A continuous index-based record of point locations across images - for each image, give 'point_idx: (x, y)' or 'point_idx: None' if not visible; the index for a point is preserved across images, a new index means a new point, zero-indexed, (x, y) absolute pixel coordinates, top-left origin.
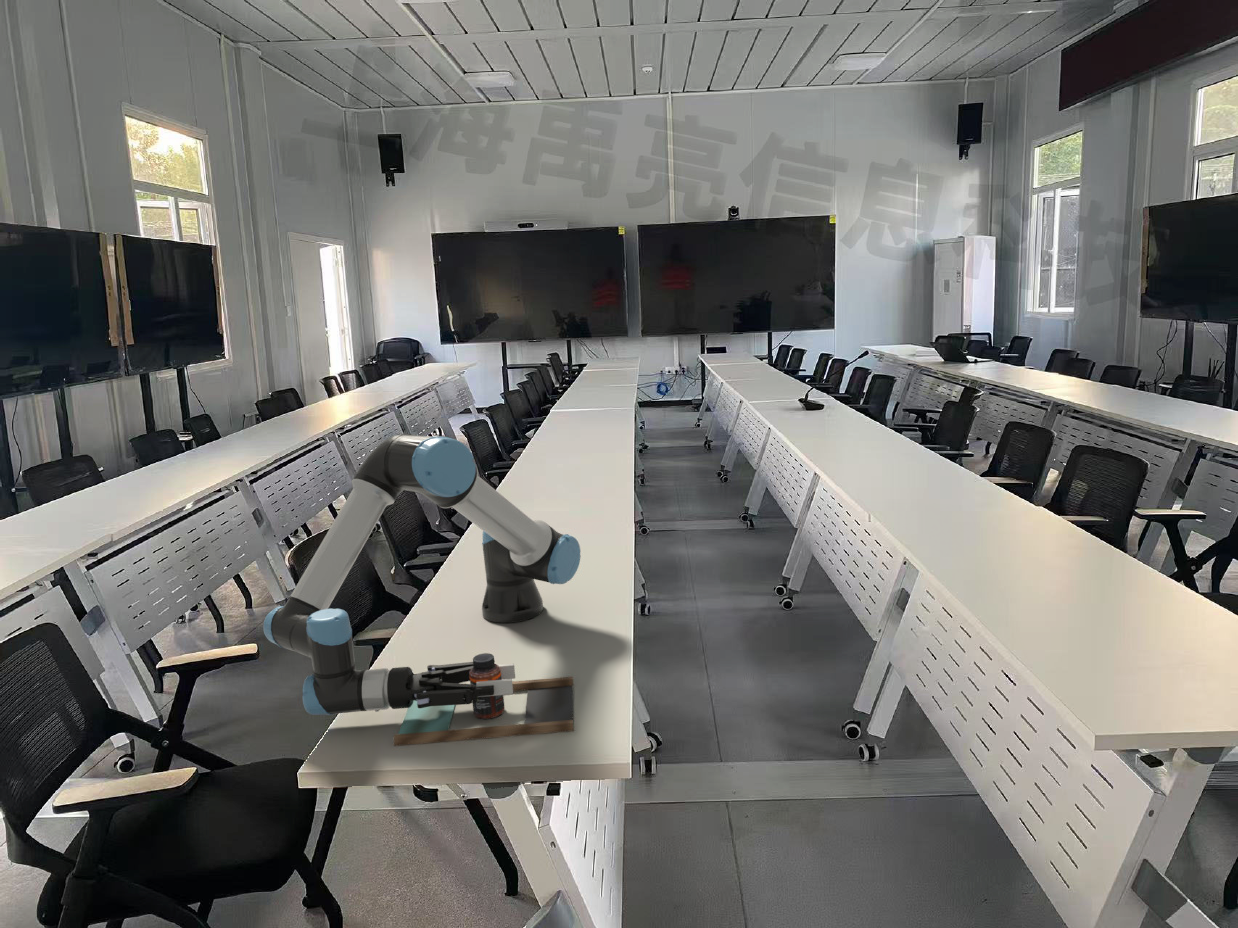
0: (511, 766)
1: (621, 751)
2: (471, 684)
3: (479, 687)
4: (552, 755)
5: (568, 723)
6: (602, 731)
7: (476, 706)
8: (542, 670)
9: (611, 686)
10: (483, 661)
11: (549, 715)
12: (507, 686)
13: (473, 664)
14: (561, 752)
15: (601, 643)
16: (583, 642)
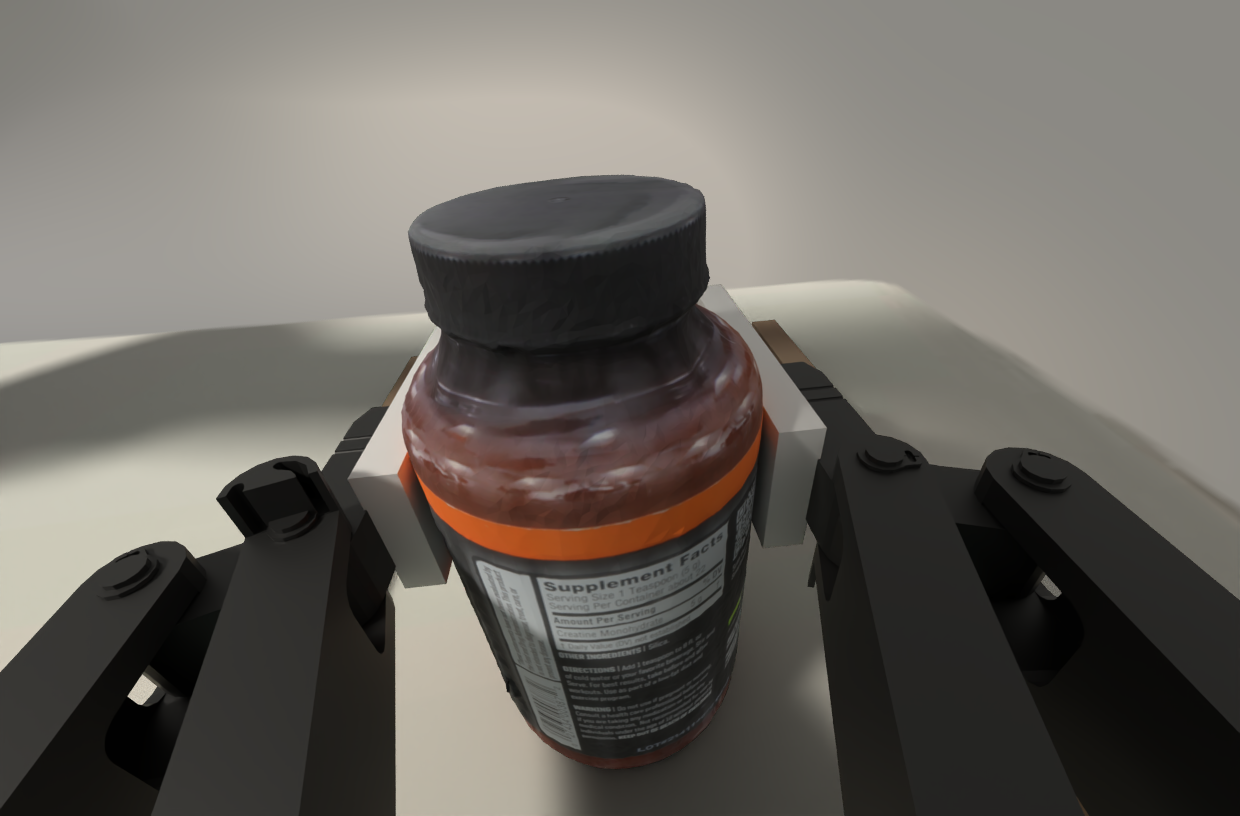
0: (1138, 443)
1: (852, 280)
2: (849, 474)
3: (830, 436)
4: (955, 362)
5: (778, 327)
6: (761, 307)
7: (727, 658)
8: (205, 477)
9: None
10: (690, 188)
11: None
12: None
13: (628, 317)
14: (921, 350)
15: (148, 361)
16: (72, 397)
